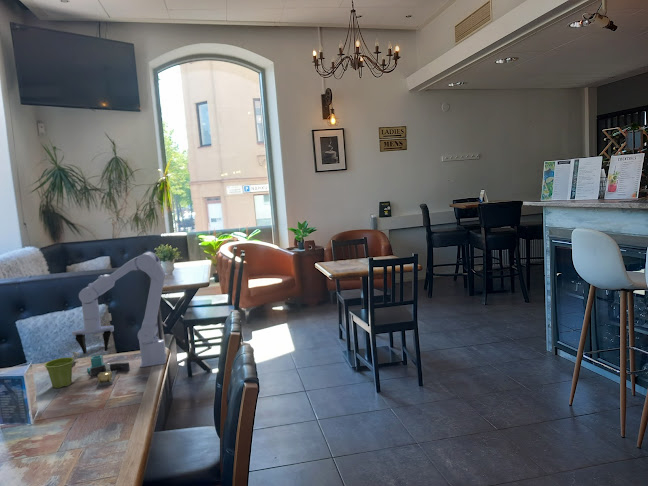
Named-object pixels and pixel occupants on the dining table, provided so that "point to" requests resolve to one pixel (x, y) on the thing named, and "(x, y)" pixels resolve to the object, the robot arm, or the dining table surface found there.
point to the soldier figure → (74, 355)
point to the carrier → (108, 372)
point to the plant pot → (60, 371)
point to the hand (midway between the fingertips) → (95, 351)
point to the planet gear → (96, 362)
